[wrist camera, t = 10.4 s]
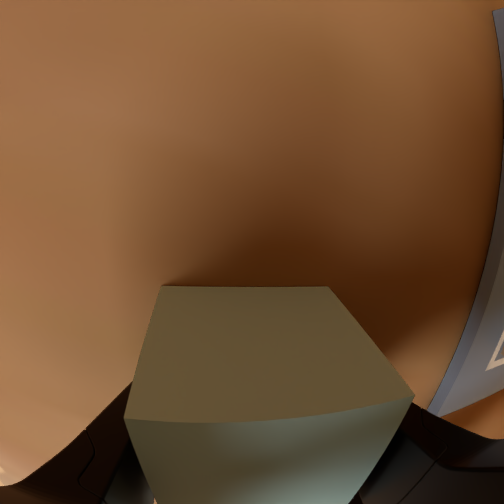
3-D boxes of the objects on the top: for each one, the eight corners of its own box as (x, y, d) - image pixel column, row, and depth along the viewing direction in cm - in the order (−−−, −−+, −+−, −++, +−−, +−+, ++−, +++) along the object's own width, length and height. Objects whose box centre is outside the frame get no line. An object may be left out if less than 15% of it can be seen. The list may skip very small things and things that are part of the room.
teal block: (304, 401, 11) (344, 507, 6) (173, 405, 10) (167, 523, 5) (327, 286, 9) (415, 394, 5) (161, 285, 9) (123, 418, 4)
